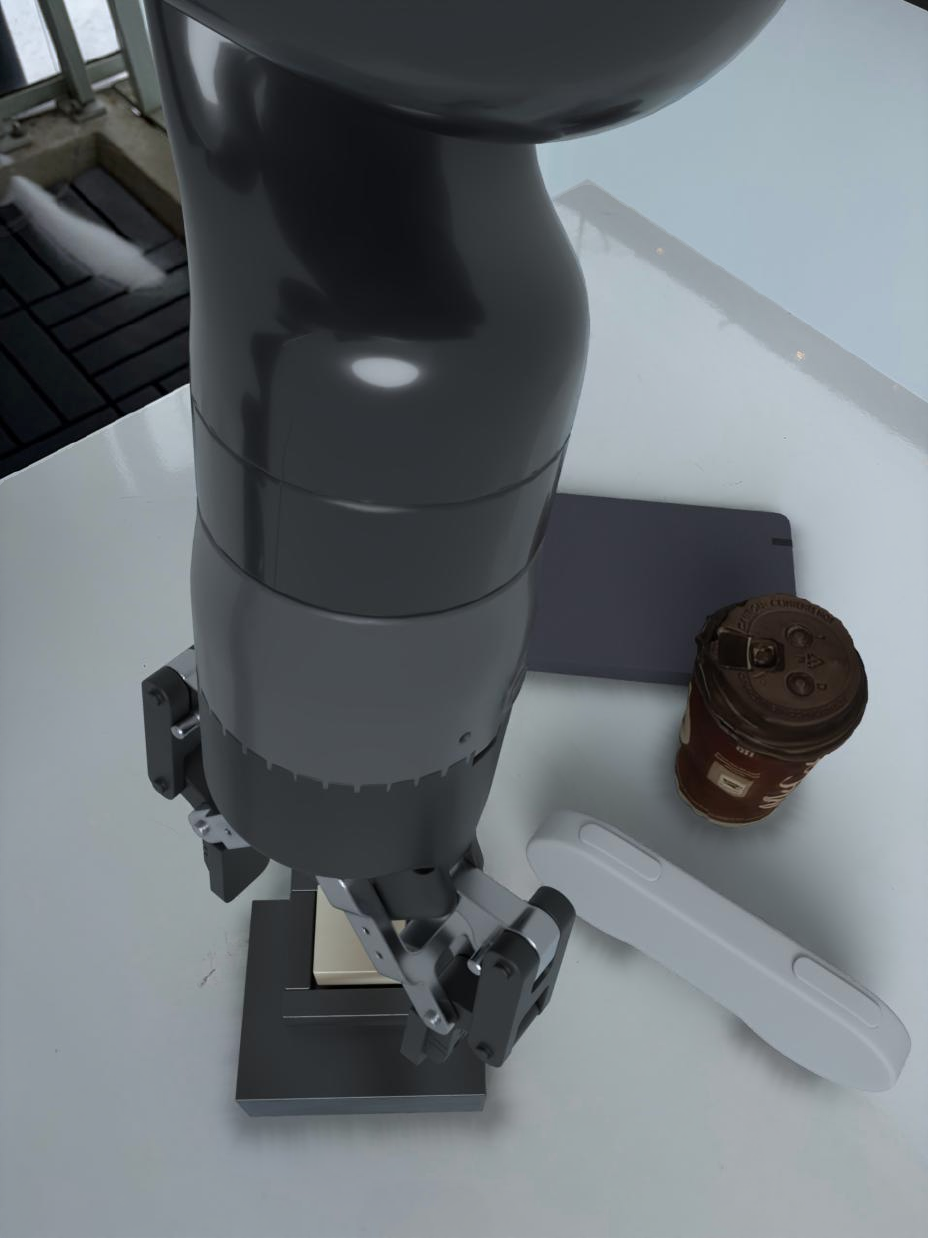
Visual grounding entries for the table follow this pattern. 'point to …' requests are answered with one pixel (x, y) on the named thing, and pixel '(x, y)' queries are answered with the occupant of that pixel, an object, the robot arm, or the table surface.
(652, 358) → the table surface
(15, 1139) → the table surface
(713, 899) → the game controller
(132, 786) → the table surface
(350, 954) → the ivory key
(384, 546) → the robot arm
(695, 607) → the notebook
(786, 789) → the coffee cup
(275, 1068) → the key block
